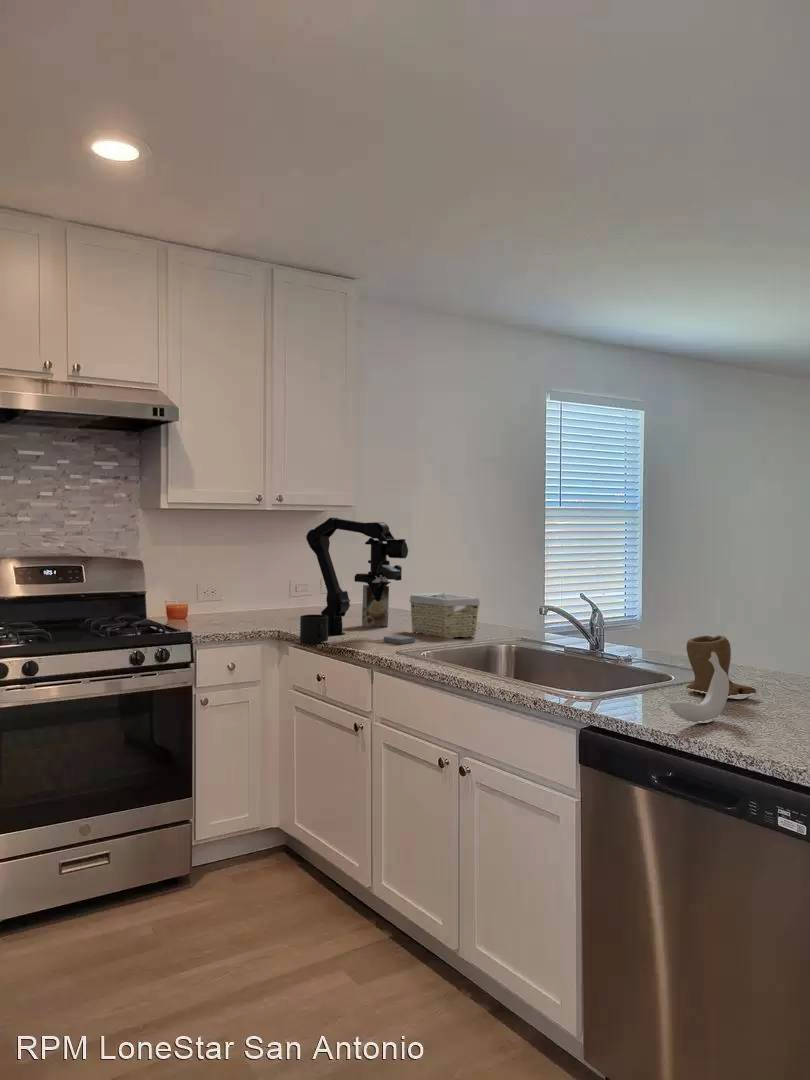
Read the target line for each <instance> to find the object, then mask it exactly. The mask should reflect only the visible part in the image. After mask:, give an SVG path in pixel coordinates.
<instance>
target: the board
mask: <svg viewBox="0 0 810 1080" xmlns="http://www.w3.org/2000/svg"><path fill="white" fill-rule="evenodd" d="M366 643H370V644H371V643H372V644H379V645H383V646H390V647H399V646H405V645H412V644H417V643H418V644H419V643H424V641H422V640H418V639H417V640H416V639H415V642H414V643H407V644H395V643H389V642H384V638H383V639H376V640H375V639H374V640H367V641H366Z"/></svg>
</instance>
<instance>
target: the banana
mask: <svg viewBox="0 0 810 1080" xmlns="http://www.w3.org/2000/svg"><path fill="white" fill-rule="evenodd" d="M708 661H710V662H711V663H712V664H713V667H714V669H715V671H714V674H713V677H712V680H711V683H710V686H709V689H708V692H707V694H705V696H704V698H703V700H702V701H701V702H700V703H699V704H697V703H695V702H690V701H681V700H680V701H674V702H673V701H671V702H670V703H669V709H670V710H671V711H672V712H673V713H674V715H676V716H678V717H679V718H681V719H683V720H685V721H686V722H687V721H688V722H689V721H692V722H698V721H705V720H709V719H713V718H716V717H717V718H718V717H720V715H721V713H722V711H723V710H724V708H725V705H726V703H727V700H728V698H727V697H728V693H729V680H730V679H728V678H729V675H728V676H727V674H726V672H725V671H724V670H723V669H722V668H721V666H720V664H719V659H718V657H717V655H716V653H715V652H711V658H710V659H709V660H708ZM717 718H716V719H717ZM692 722H691V723H692Z"/></svg>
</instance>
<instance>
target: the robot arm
mask: <svg viewBox="0 0 810 1080" xmlns="http://www.w3.org/2000/svg"><path fill="white" fill-rule="evenodd" d="M388 525H389V524H387V523H386V522H383V521H382V522H381V521H380V522H378V521H377V522H374V521H373V522H361V521H355V520H350V519H349V520H348V519H343V518H340V517H339V518H338V517H329V518H328V519H326V520H325V521H324V522H323V523H321V524H319V525H317V526H316V527H315V528H314V529H310V530H308V532H307V534H306V537H305V538H306V541H307V544H308V546H309V548H310V549H311V550H312V551H313V553H315V556H316V559H317V562H318V565H319V569H320V572H321V575H322V578H323V582H324V585H325V588H326V607H325V608H324V609H323V610H321V612H320V615H327V616H328V636H338V635H346V632H343V618H342V617H345V616H346V613H347V612H348V611H349V608H350V606H351V605H350V604H351V603H350V602H351V599H350V598H349V592H348V591H347V590H344V591H343V589H342V588H341V587H340V584H339V580H338V578H337V577H338V576H337V574H336V571H335V568H334V563H333V561H332V558H331V554H330V543H331V542H330V538H331V537H332V536H333V535H334V534H335V532H336V531H337V530H342V531H348V532H354V533H360V534H363V535H364V536H367V537H369V538H368V540H367V541H366V542H364V544H365V545H370V559H368V560H367V563H368V564H370V571H367V573H364V572H363V573H356V574H355V575H354V582H356V583H365V584H367V585H369V587H370V589H371V591H372V593H373V595H374V597H375V599H376V601H380V599H381V597H382V594H383V591H384V589H385V587H386V586H389V584H391V580H394V581H402V572H403V571H402V566H401V565H400V564H396V565H390V560H389V559H388V560H387V556H388V558H390V559H406V558H407V557H408V554H409V548H408V544H407V542H406V539H405V538H399V539H397V538H395V537H394V536H393V534H392V533H391V531H390V526H388ZM389 580H390V581H389Z"/></svg>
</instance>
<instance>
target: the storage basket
mask: <svg viewBox="0 0 810 1080" xmlns="http://www.w3.org/2000/svg"><path fill="white" fill-rule="evenodd" d="M409 603H410V616H411V617H410V618H411V631H412V633H415V632H417V633H416V634H418V633H422V634H421V635H423V634H428V635H427V636H430V635H433V636H432V637H437V636H438V637H437V638H445V639H451V637H464V638H466V637H465V636H473V637H475V636H476V630H477V624H478V623H477V620H478V613H479V606H480V603H481V602H480V598H479V597H477V596H475V597H474V596H469V595H461V594H454V593H448V592H444V591H442V592H426V593H412V594H411V595H410V597H409ZM474 635H475V636H474Z"/></svg>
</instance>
